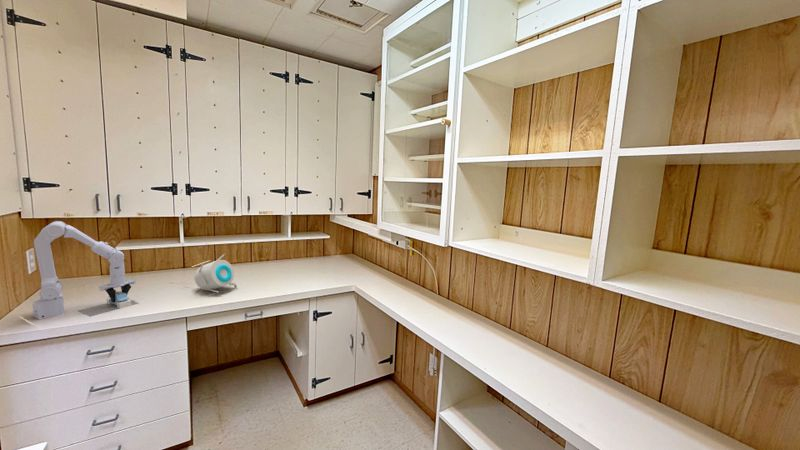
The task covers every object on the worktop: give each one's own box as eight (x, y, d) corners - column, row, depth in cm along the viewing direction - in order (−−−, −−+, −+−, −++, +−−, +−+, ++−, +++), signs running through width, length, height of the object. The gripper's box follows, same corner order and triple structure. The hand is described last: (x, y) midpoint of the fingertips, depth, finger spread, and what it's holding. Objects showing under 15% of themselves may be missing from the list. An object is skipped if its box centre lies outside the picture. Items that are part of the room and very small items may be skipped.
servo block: (119, 306, 163) (119, 295, 162) (109, 301, 167) (108, 291, 166) (129, 303, 167) (128, 293, 166) (118, 299, 171) (117, 289, 170)
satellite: (210, 256, 210) (174, 268, 186) (233, 248, 203) (198, 259, 180) (224, 288, 212) (190, 305, 188) (247, 281, 205) (214, 297, 182)
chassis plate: (90, 318, 152) (89, 311, 152) (77, 312, 157) (76, 305, 157) (139, 305, 170) (139, 298, 170) (126, 300, 175) (126, 293, 175)
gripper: (103, 279, 157) (105, 306, 159) (138, 272, 170) (139, 298, 172) (96, 277, 160) (97, 303, 162) (130, 270, 173) (132, 295, 175)
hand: (118, 300), depth 167 cm, fingers closed on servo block, 4 cm apart
